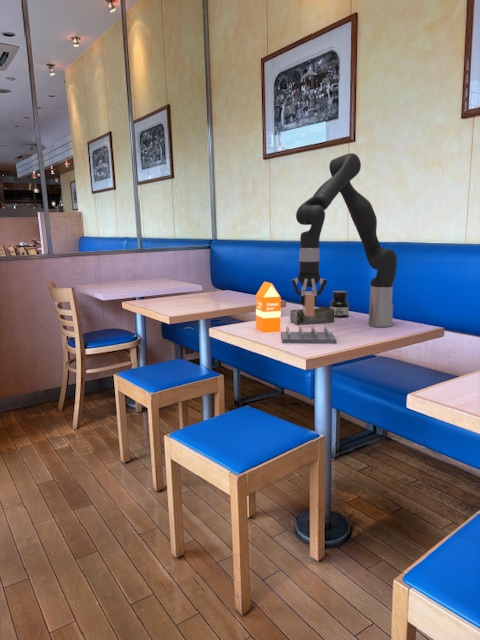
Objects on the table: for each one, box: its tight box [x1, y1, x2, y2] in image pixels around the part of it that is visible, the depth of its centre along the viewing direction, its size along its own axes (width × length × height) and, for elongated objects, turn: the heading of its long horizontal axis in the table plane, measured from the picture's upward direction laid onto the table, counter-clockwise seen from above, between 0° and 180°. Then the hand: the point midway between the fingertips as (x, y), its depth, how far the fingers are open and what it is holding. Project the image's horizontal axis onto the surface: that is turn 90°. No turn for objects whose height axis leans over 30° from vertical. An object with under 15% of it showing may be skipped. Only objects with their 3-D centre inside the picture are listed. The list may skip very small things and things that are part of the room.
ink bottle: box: [329, 290, 350, 318], centre depth 231 cm, size 10×9×12 cm
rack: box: [280, 326, 338, 344], centre depth 185 cm, size 20×13×4 cm, turn 88°
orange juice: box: [255, 281, 282, 334], centre depth 200 cm, size 8×9×20 cm
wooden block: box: [302, 290, 315, 316], centre depth 182 cm, size 3×10×8 cm, turn 178°
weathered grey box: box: [289, 306, 335, 326], centre depth 217 cm, size 8×19×7 cm, turn 109°
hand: (308, 305), depth 183 cm, fingers closed on wooden block, 3 cm apart
